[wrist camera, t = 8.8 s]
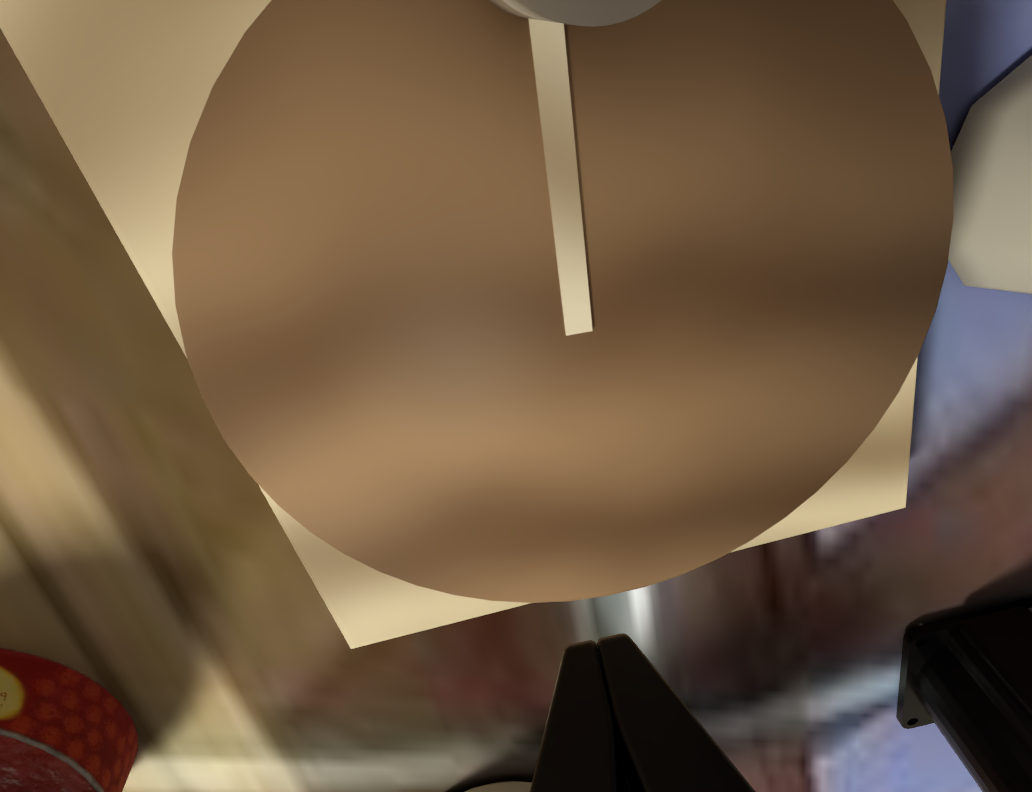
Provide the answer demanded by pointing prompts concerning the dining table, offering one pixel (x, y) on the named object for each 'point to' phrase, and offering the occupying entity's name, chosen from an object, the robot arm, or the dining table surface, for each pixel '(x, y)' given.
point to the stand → (150, 229)
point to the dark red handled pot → (60, 729)
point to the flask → (995, 188)
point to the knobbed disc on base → (559, 273)
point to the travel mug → (503, 787)
